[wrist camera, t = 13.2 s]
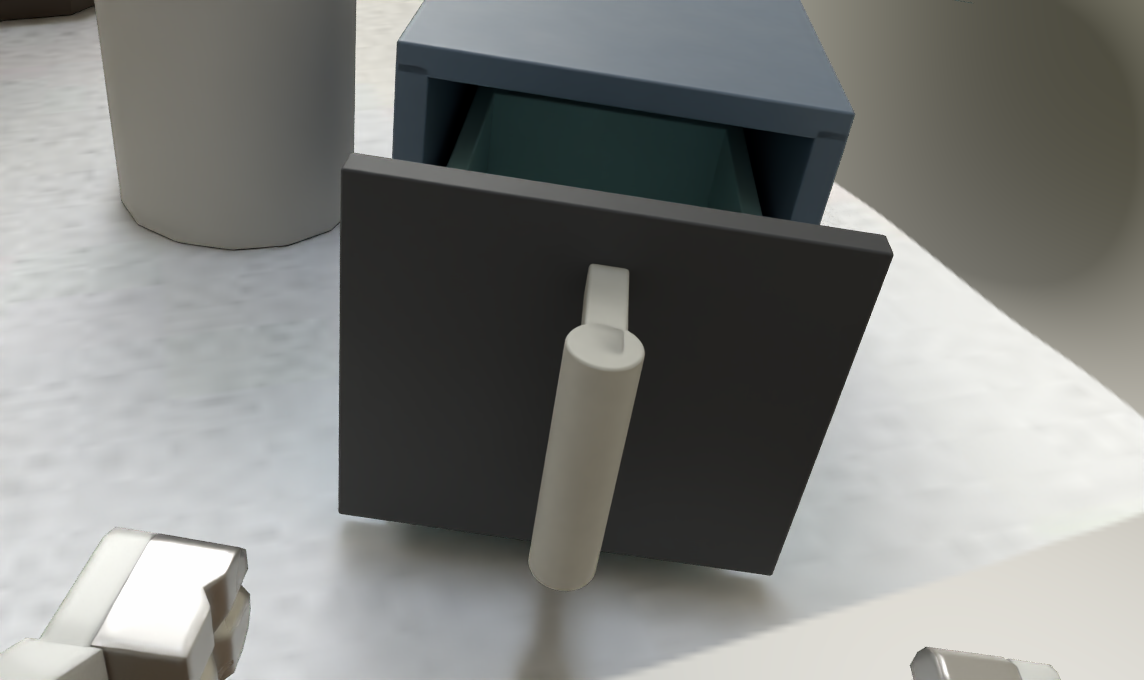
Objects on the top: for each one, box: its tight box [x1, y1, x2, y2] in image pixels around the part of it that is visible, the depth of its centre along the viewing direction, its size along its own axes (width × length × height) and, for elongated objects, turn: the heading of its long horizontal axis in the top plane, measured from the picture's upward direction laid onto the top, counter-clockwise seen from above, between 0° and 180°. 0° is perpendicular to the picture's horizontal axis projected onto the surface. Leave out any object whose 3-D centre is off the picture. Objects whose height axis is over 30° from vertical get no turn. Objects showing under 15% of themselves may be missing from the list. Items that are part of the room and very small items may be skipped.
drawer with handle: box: [338, 85, 893, 591], centre depth 25 cm, size 17×11×9 cm, turn 177°
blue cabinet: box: [392, 0, 855, 225], centre depth 32 cm, size 14×11×10 cm
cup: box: [94, 0, 356, 250], centre depth 34 cm, size 8×8×10 cm
